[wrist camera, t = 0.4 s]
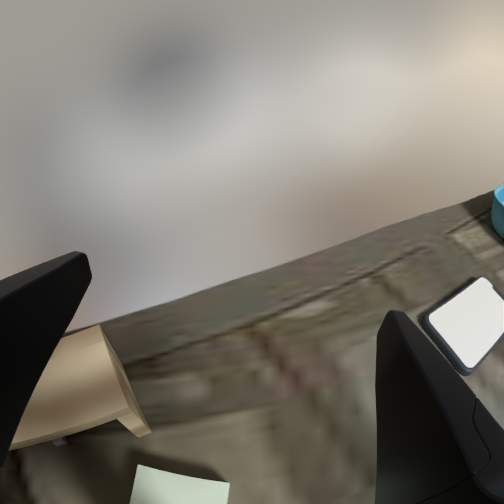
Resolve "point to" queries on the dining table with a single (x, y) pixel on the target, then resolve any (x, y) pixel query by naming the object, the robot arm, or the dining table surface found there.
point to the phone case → (468, 324)
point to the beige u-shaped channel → (79, 393)
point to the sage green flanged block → (175, 488)
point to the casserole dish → (498, 210)
